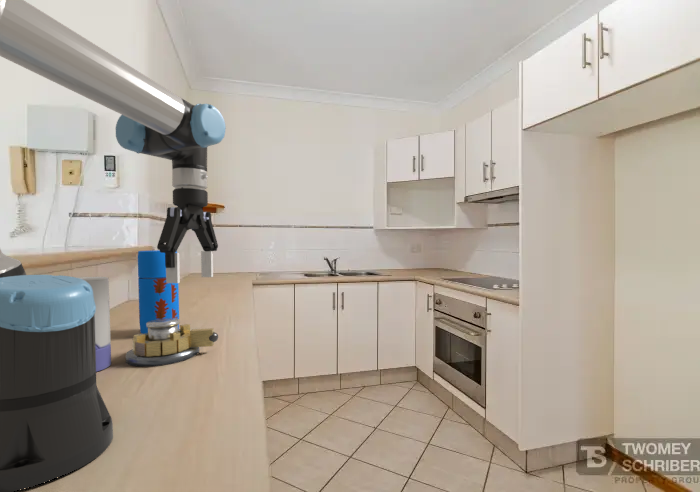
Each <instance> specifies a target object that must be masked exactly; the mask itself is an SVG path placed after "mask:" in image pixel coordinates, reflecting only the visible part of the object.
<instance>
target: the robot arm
mask: <svg viewBox="0 0 700 492" xmlns="http://www.w3.org/2000/svg"><path fill="white" fill-rule="evenodd" d="M0 57H1V58H4V59H6V60H8V61H9V62H12V63H14V64H16V65H18V66H20V67H23V68H24V69H26V70H28V71H30V72H32V73H35V74H36V75H39V76H41V77H43V78H45V79H47V80H49V81H50V82H53V83H55V84H57V85H59V86H62V87H64V88H66V89H67V90H70V91H72V92H74V93H76V94H78V95H81V96H82V97H85V98H87V99H89V100H91V101H93V102H95V103H96V104H99V105H101V106H103V107H106V108H107V109H109V110H112V111H113V112H115V113H118V114H120V116H119V117H118V119H117V121H116V124H115V138H116V142H117V143H118V145H120V147H121V148H123V149H125V150H126V151H127V150H128V151H131V152H134V153H136V154H143V155H146V156H152V157H156V158H160V159H165V160H169V161H171V170H172V171H171V173H172V175H171V176H172V177H171V178H172V180H171V183H172V185H171V186H172V187H173V188H174V189H173V190H172V205H173V206H171V207H167V209H166V218H165V221H164V224H163V227H162V230H161V232H160V233H161V234H160V236H159V240H158V242H157V246H156V248H157V250H160V252H161V253H165V266H166V283H178V284H180V283H181V282H180V279H181V277H180V275H181V273H180V264H181V263H180V252H178V249H179V247H180V245H181V243H182V241H183V239H184V237H185V236H186V234H187V232H188V231H189V230H191V231H193V232H194V233H195V236H196V237H197V240H198V242H199V244H200V246H201V248H202V249H203V251H201V252H200V254H201V255H200V256H201V258H200V265H201V278H213V277H214V255H213V253H214V252H216V251H218V247H219V243H218V240H217V237H216V233H215V229H214V225H213V222H212V214H211V211H204V208H206V207H207V206H208V204H209V203H208V202H209V200H208V199H209V197H208V196H209V194H208V191H207V188H208V177H209V176H208V147H211V146H214V145H217V144H220V143H221V142H222V141H223V139H224V138H225V134H226V129H227V128H226V127H227V126H226V121H225V118H224V117H223V114H222V113H221V112H220V111H219V109H218V108H217V107H216V106H215V105H212V104H209V103H197V104H195V105H194V104H192V103H190V102H188V101H187V100H185V99H183V98H182V97H181V96H178V95H177V94H176V93H174V92H173V91H171V90H169V89H167V88H165V86H163V85H161V84H160V83H158V82H156V81H155V80H153V79H151V78H149V77H148V76H146V75H145V74H143V73H141V72H139V71H138V70H137V69H135V68H134V67H132V66H130V65H129V64H127V63H126V62H124V61H122V60H121V59H120V58H117V57H116V56H114V55H112V53H109V52H108V51H106V50H105V49H103V48H101V47H100V46H99V45H96V44H95V43H93V42H92V41H90V40H89V39H88V38H85V37H83V36H82V35H81V34H79V33H77V32H76V31H74V30H72V29H71V28H70V27H67V26H66V25H64V24H63V23H61V22H59V21H58V20H56V19H55V18H54V17H51V16H50V15H48V14H47V13H45V12H44V11H42V10H41V9H38V8H37V7H35V6H34V5H32V4H30V3H29V2H27V1H26V0H0ZM176 251H177V253H175V252H176ZM79 278H80V277H75V276H69V275H60V274H59V275H52V274H27V273H26V271H25V269H24V266H23V264H22V262H21V260H19V259H17V258H15V257H11V256H8V255H6V254H5V253H3V252H2V249H1V248H0V492H14V491H15V492H18V491H17V490H19V491H23V490H25V489H24V488H27V489H29V488H28V487H31V488H34V487H36V486H35V485H38V484H41V483H44V482H47V481H49V480H52V479H54V478H57V477H60V476H62V475H64V476H66V475H68V473H69V474H71V473H73V472H75V471H77V470H78V469H81V468H82V467H84V466H86V465H87V464H89V463H91V462H92V461H93V460H95V459H97V457H99V456H100V455H101V454H103V453H104V452H105V451H106V450H107V449H108V448H109V446H110V445H111V443H112V442H113V438H114V428H113V427H114V426H113V425H114V422H113V419H112V416H111V414H110V412H109V410H108V407H107V406H106V403H105V401H104V399H103V397H102V395H101V393H100V390H99V388H98V385H97V384H98V383H97V372H96V348H95V312H96V305H95V302H94V297H93V290H92V287H91V285H90V284H89V283H88V282H86V281H85V280H82V279H79ZM76 469H77V470H76ZM74 470H75V471H74ZM72 471H73V472H72ZM70 472H71V473H70ZM65 474H66V475H65ZM62 477H63V476H62ZM60 478H61V477H60ZM57 479H58V478H57ZM52 481H53V480H52ZM49 482H50V481H49ZM47 483H48V482H47ZM44 484H45V483H44ZM41 485H42V484H41ZM33 486H34V487H33ZM38 486H39V485H38ZM20 489H21V490H20ZM22 489H23V490H22Z"/></svg>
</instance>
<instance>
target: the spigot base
mask: <svg viewBox="0 0 700 492" xmlns="http://www.w3.org/2000/svg"><path fill="white" fill-rule="evenodd" d="M178 324H179V325H180V318H179V319H177V318H164V319H157V320H152V321H149V322H147V323H146V327H147V328H148V331H149V341H163V340H169V339H170V333H172V332H178ZM198 354H200V347H190V348H189V349H186V350H184V351H181V352H177V353H174V354H168V355H161V356H150V357H147V356H145V357H144V356H137V355H135V354H134V353H133V348H131V349H129V350H128V351H126V353H125V364H127V365H129V366H133V367H138V368H139V367H142V368H143V367H144V368H145V367H147V368H149V367H150V368H151V367H152V368H153V367H161V366H167V365H172V364H177V363H181V362H184V361H186V360H189V359H192V358H193V357H196V356H197V355H198Z"/></svg>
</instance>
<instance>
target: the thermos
mask: <svg viewBox="0 0 700 492" xmlns="http://www.w3.org/2000/svg"><path fill="white" fill-rule="evenodd" d="M175 253H178V250H177V251H176V252H175ZM137 280H138V283H137V284H138V315H139V317H138V318H139V321H138V322H139V332H140V333H139V334H141V333H143V334H145V333H148V328H147V327H146V323H147V322H149V321H152V320H157V319H164V318H177V319H179V320H180V296H179V294H180V293H179V292H180V291H179V290H180V289H179V283H166V266H165V253H161V252H160V250H158V249H157V250H138V252H137ZM178 329H180V323H179V324H178Z"/></svg>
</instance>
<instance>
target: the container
mask: <svg viewBox="0 0 700 492" xmlns="http://www.w3.org/2000/svg"><path fill="white" fill-rule="evenodd" d="M78 278H79V279H82V280H85V281H86V282H88V283H89V284H90V285H91V287H92V290H93V297H94V302H95V305H96V312H95V348H96V373H97V372H100V371H103V370H105V369H107V368H109V367H110V366H111V365H112V346H111V345H112V344H111V341H112V340H111V339H112V338H111V313H110V307H111V306H110V281H109V280H110V279H109V277H107V276H83V277H82V276H81V277H78Z"/></svg>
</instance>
